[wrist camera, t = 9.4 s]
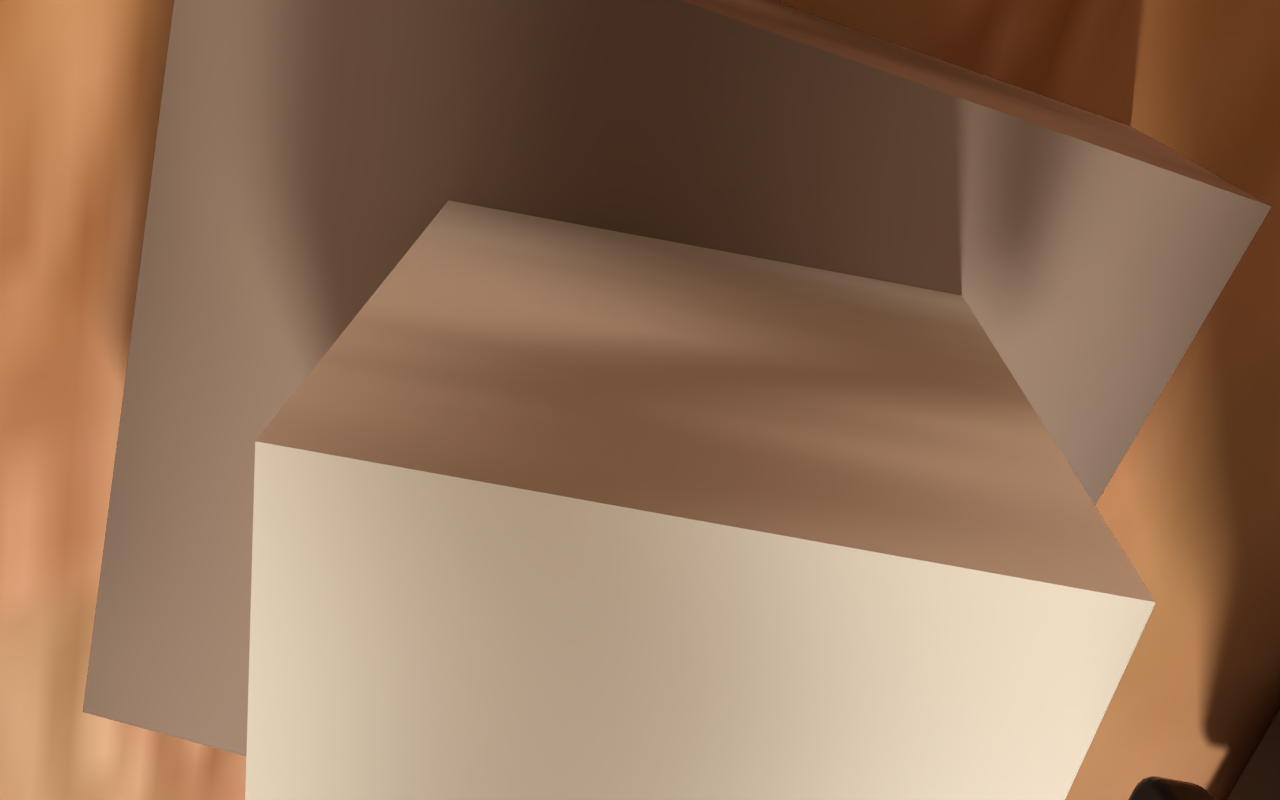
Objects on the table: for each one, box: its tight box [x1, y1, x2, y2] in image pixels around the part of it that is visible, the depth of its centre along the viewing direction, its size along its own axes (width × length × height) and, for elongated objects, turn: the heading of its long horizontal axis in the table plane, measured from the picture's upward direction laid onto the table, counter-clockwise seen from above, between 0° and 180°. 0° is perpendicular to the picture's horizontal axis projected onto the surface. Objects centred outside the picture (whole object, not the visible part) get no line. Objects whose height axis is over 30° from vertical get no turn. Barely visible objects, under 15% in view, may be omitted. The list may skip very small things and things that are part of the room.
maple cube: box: [245, 201, 1156, 800], centre depth 9 cm, size 5×5×5 cm
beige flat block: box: [83, 0, 1272, 756], centre depth 14 cm, size 10×10×4 cm
